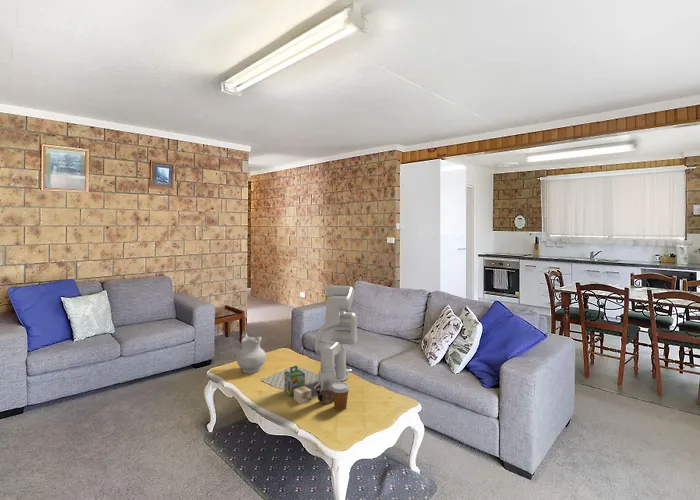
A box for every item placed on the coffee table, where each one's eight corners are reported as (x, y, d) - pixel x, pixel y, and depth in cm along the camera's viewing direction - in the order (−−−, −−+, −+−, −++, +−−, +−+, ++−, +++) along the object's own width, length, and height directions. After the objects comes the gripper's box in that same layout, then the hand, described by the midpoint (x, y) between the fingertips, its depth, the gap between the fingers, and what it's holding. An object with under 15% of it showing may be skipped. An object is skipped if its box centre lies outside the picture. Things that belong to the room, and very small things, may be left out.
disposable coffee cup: (343, 413, 198) (343, 390, 197) (328, 408, 203) (327, 386, 202) (352, 406, 206) (352, 384, 205) (338, 401, 211) (337, 380, 210)
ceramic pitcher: (229, 372, 257) (225, 336, 254) (251, 361, 273) (248, 327, 270) (250, 379, 245) (247, 342, 242) (273, 367, 261) (270, 332, 258)
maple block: (304, 396, 218) (304, 385, 218) (311, 400, 213) (311, 390, 212) (294, 399, 214) (293, 389, 214) (300, 404, 209) (300, 393, 208)
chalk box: (291, 396, 218) (291, 371, 217) (284, 391, 225) (283, 366, 224) (305, 392, 223) (305, 367, 222) (297, 387, 230) (297, 363, 230)
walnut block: (328, 398, 216) (328, 388, 215) (334, 401, 211) (334, 391, 211) (320, 400, 212) (320, 391, 212) (326, 404, 208) (326, 394, 208)
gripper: (335, 362, 219) (336, 392, 220) (310, 369, 208) (310, 400, 209) (344, 366, 213) (344, 396, 214) (318, 373, 202) (318, 405, 203)
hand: (327, 398), depth 212 cm, fingers open, 9 cm apart
